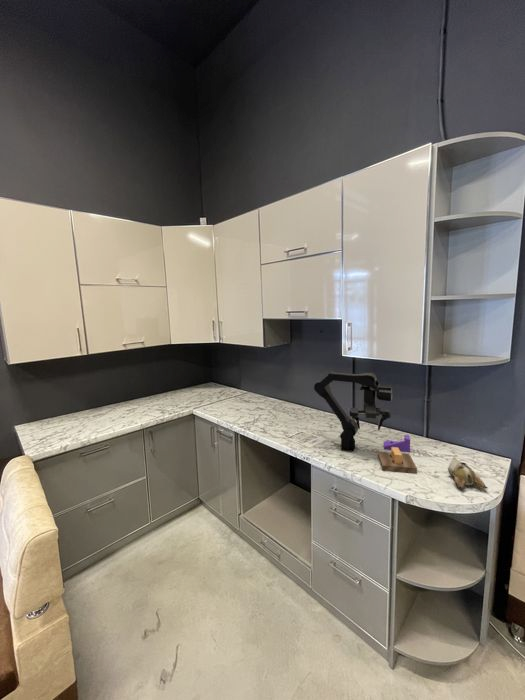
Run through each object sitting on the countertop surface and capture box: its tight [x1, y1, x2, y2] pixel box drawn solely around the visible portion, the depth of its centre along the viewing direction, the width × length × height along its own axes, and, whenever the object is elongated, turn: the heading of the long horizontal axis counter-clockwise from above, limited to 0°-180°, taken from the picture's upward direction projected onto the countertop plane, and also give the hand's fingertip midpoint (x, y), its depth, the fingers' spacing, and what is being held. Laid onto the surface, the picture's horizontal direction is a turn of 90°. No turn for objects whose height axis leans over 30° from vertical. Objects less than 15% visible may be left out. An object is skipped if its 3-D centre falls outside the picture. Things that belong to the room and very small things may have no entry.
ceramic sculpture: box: [447, 457, 489, 490], centre depth 125 cm, size 11×9×15 cm
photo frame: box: [284, 430, 328, 449], centre depth 171 cm, size 15×1×18 cm
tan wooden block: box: [390, 447, 402, 464], centre depth 141 cm, size 3×8×6 cm, turn 168°
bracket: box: [383, 434, 411, 453], centre depth 158 cm, size 12×7×7 cm, turn 70°
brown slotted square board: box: [377, 451, 418, 474], centre depth 141 cm, size 14×14×2 cm
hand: (368, 429), depth 152 cm, fingers open, 9 cm apart
